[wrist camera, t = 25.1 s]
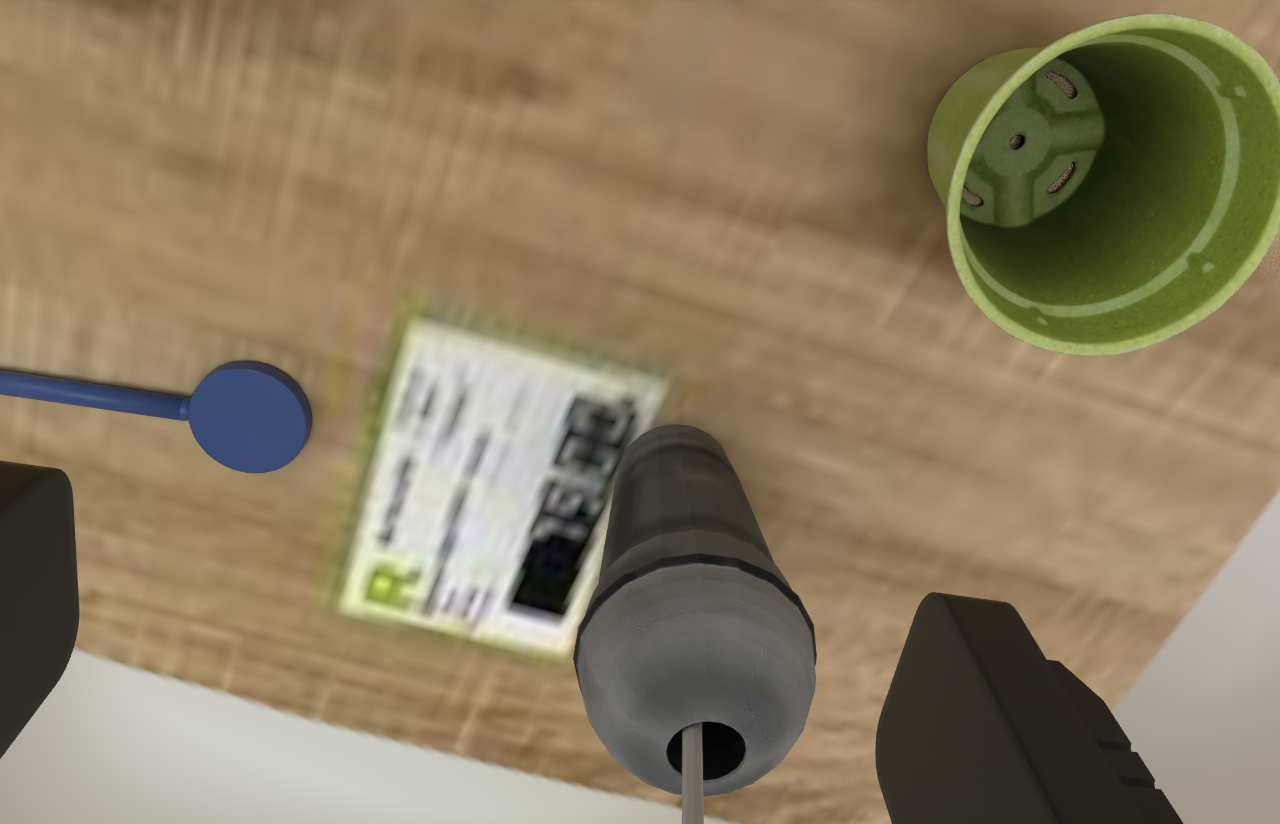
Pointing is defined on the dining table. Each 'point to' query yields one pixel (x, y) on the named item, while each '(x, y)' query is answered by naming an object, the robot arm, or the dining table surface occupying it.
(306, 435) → the spoon
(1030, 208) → the plant pot
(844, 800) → the dining table surface
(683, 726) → the beverage cup
